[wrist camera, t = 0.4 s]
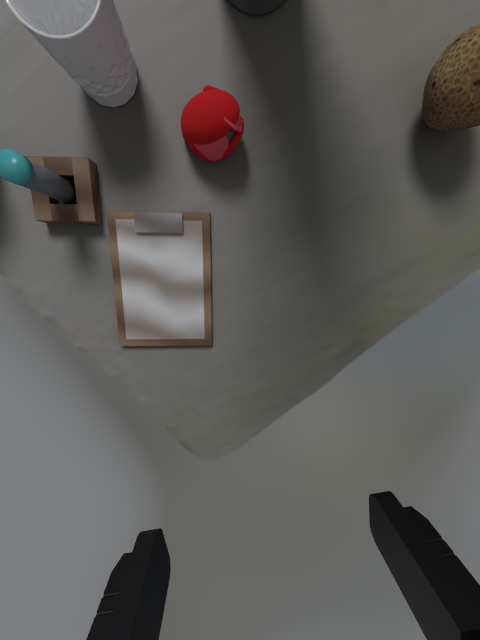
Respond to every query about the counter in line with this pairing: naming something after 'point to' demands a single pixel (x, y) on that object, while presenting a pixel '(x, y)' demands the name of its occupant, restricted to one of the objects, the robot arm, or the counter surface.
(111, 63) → the white cup
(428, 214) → the counter surface
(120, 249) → the clipboard
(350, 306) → the counter surface
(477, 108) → the natural sponge
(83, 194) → the marker stand
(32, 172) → the marker
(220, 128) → the cap
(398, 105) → the counter surface
